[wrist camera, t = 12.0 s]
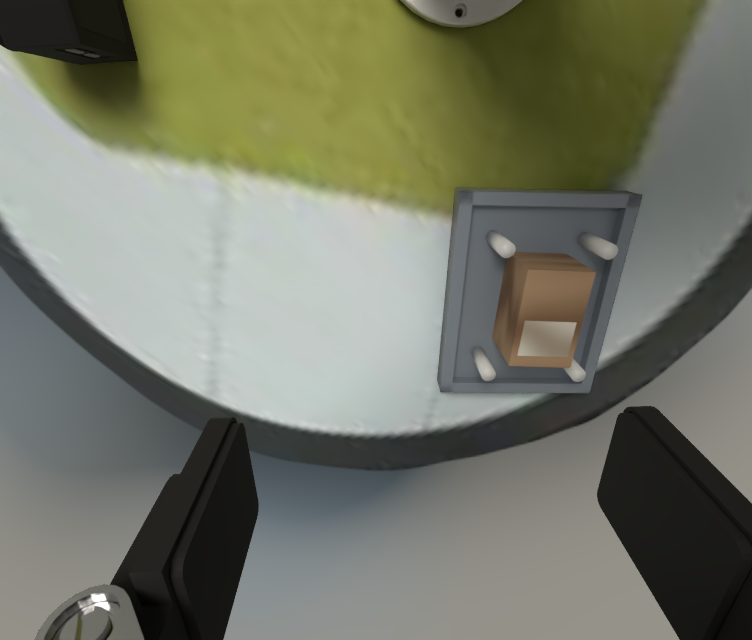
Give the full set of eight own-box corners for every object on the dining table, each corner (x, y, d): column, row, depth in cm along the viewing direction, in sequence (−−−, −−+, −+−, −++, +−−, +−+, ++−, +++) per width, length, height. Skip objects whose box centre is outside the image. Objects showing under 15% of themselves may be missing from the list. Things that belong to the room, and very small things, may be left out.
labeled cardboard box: (507, 251, 36) (528, 269, 31) (566, 253, 36) (596, 272, 31) (492, 337, 39) (509, 366, 34) (546, 339, 39) (570, 368, 34)
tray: (455, 187, 35) (469, 197, 30) (626, 191, 35) (667, 201, 30) (437, 379, 42) (446, 411, 37) (578, 380, 42) (605, 412, 38)
